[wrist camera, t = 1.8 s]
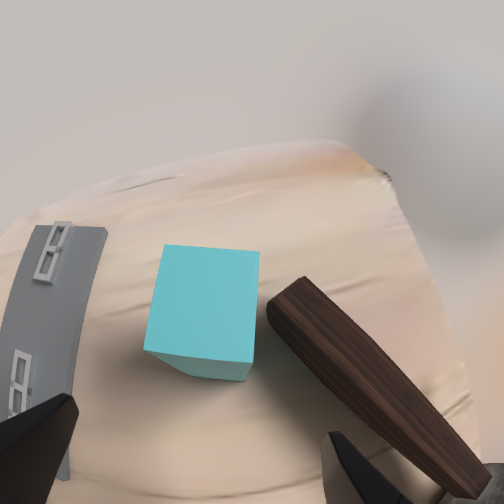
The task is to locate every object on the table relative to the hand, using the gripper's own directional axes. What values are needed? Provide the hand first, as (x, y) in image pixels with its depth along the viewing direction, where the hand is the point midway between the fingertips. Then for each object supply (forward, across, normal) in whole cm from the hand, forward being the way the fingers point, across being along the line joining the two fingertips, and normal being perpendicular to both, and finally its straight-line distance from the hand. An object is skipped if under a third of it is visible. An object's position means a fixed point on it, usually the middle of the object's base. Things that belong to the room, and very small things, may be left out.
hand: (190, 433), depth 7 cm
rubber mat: (+10, +17, +6) cm, 21 cm away
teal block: (+12, 0, +5) cm, 12 cm away
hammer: (+7, -14, +10) cm, 19 cm away
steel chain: (+9, +17, +5) cm, 20 cm away
